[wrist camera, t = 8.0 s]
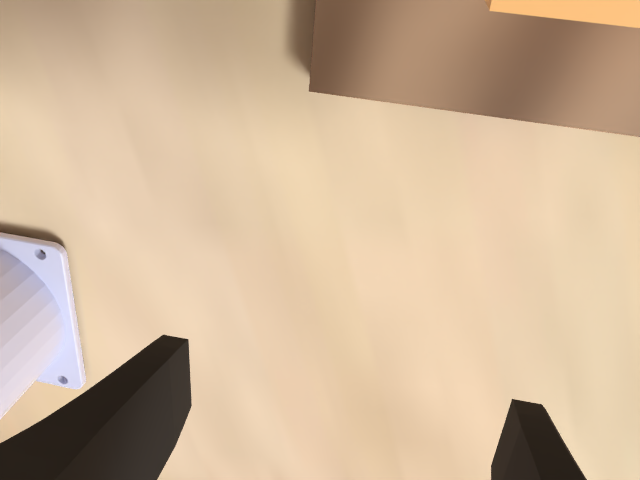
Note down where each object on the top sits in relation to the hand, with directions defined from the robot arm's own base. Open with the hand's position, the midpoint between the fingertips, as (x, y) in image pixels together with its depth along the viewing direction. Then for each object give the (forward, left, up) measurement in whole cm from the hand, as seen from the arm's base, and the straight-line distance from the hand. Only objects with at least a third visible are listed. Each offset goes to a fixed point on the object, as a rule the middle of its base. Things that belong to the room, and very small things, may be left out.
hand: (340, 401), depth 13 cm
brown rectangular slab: (+4, +11, -9) cm, 15 cm away
